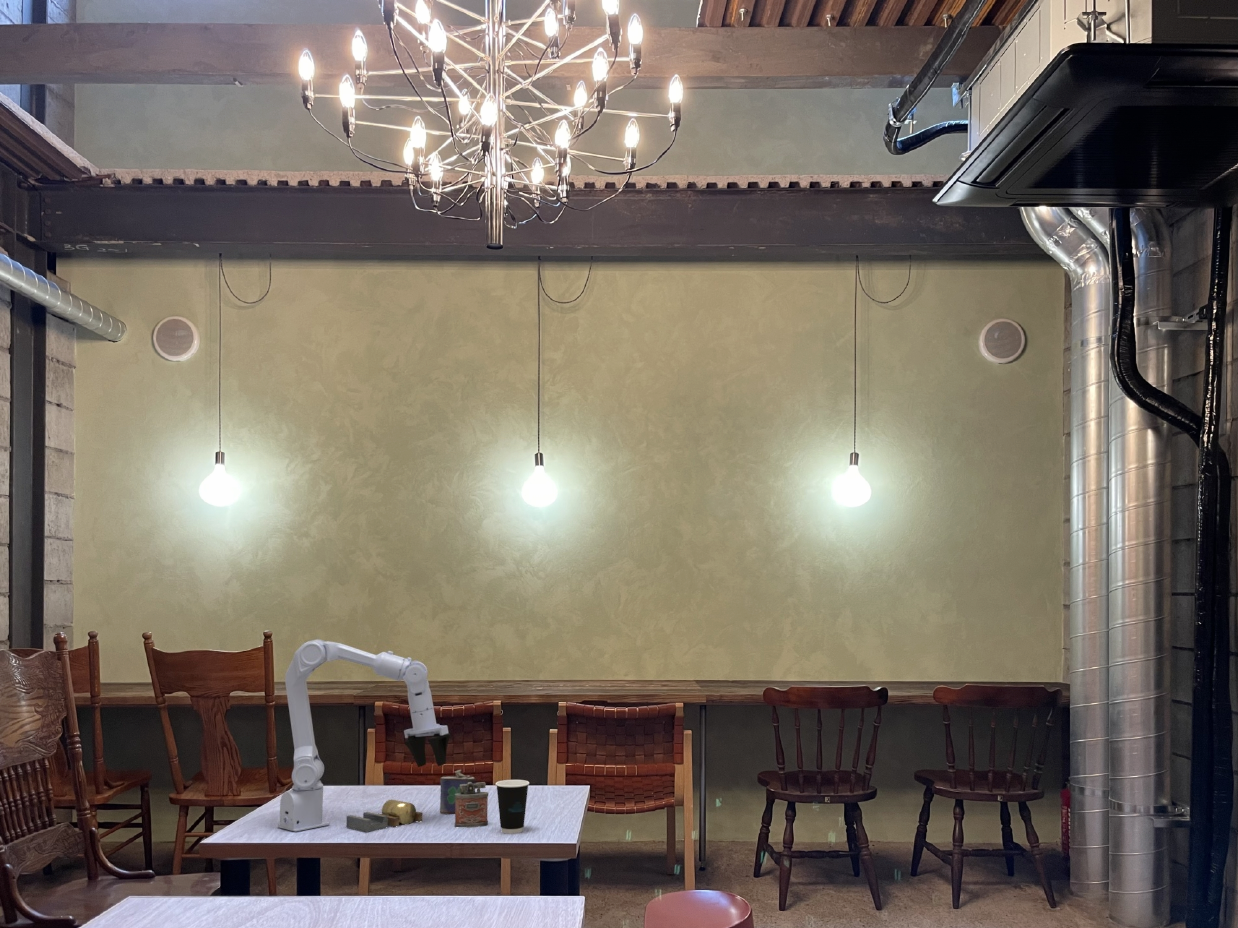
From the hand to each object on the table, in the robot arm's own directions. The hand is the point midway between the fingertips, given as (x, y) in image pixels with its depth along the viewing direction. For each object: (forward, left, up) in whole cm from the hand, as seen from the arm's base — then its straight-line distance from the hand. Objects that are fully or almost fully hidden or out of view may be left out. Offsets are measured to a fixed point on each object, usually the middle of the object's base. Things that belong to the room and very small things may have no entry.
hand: (431, 765), depth 247 cm
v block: (-14, +7, -13) cm, 20 cm away
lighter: (+3, -11, -14) cm, 18 cm away
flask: (+10, +2, -14) cm, 17 cm away
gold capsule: (-6, +6, -13) cm, 16 cm away
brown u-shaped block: (-6, +6, -13) cm, 15 cm away
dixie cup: (+5, -23, -14) cm, 27 cm away
